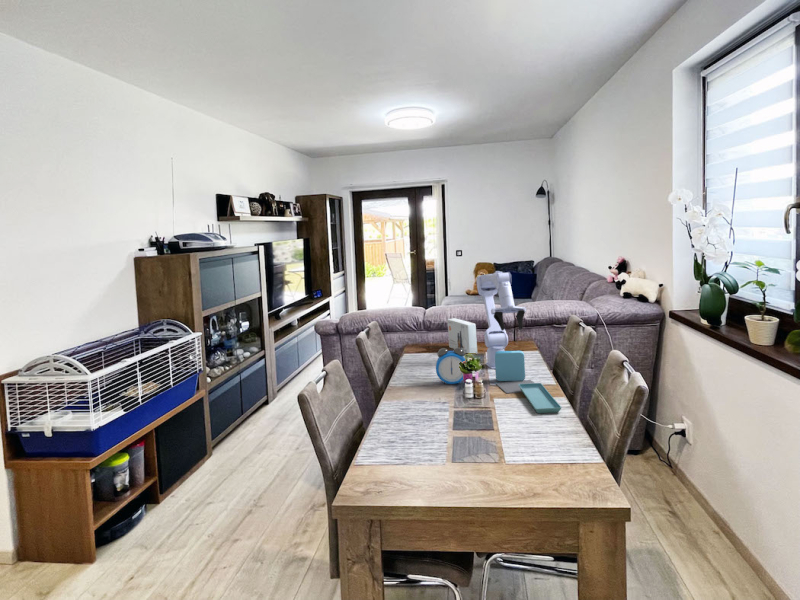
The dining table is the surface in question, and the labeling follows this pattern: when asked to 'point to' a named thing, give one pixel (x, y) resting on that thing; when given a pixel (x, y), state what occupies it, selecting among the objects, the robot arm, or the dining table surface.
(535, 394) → the teal serving tray
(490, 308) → the robot arm
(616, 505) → the dining table surface
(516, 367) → the data package
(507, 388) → the mat
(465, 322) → the skincare box
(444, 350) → the alarm clock
